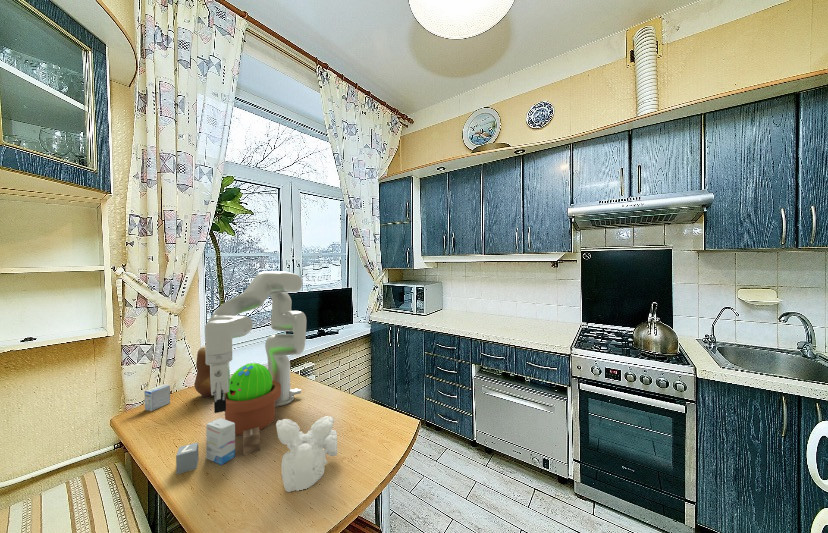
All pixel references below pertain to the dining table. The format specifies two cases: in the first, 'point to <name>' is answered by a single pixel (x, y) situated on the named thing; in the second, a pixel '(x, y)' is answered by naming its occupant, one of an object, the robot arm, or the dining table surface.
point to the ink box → (220, 441)
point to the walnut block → (251, 441)
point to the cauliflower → (305, 452)
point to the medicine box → (157, 397)
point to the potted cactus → (251, 398)
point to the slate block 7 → (187, 458)
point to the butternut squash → (203, 374)
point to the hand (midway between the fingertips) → (220, 411)
